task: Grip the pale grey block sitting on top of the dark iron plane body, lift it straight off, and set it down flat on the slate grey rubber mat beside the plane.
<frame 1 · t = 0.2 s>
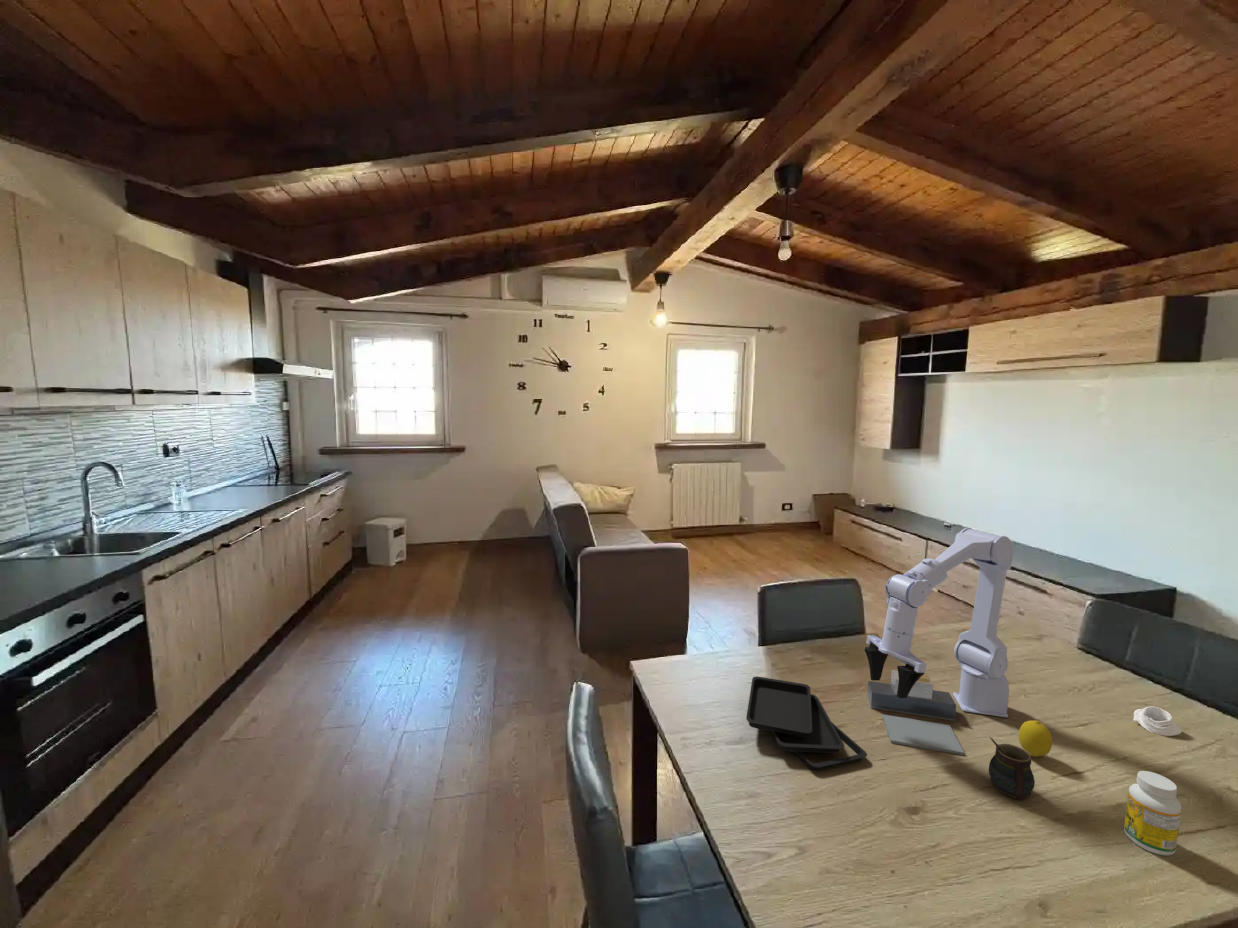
hand: (888, 688, 119), 10 cm above the table, fingers open, 7 cm apart
pale grey block: (910, 692, 129), point 4 cm above the table, touching plane body
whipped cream: (1156, 729, 123), on the table
mat: (920, 734, 119), on the table
mate gourd: (1008, 791, 103), on the table
plane body: (909, 707, 130), on the table
stack of dark trays: (790, 732, 121), on the table
lemon: (1033, 756, 112), on the table
supplement bottle: (1148, 842, 91), on the table
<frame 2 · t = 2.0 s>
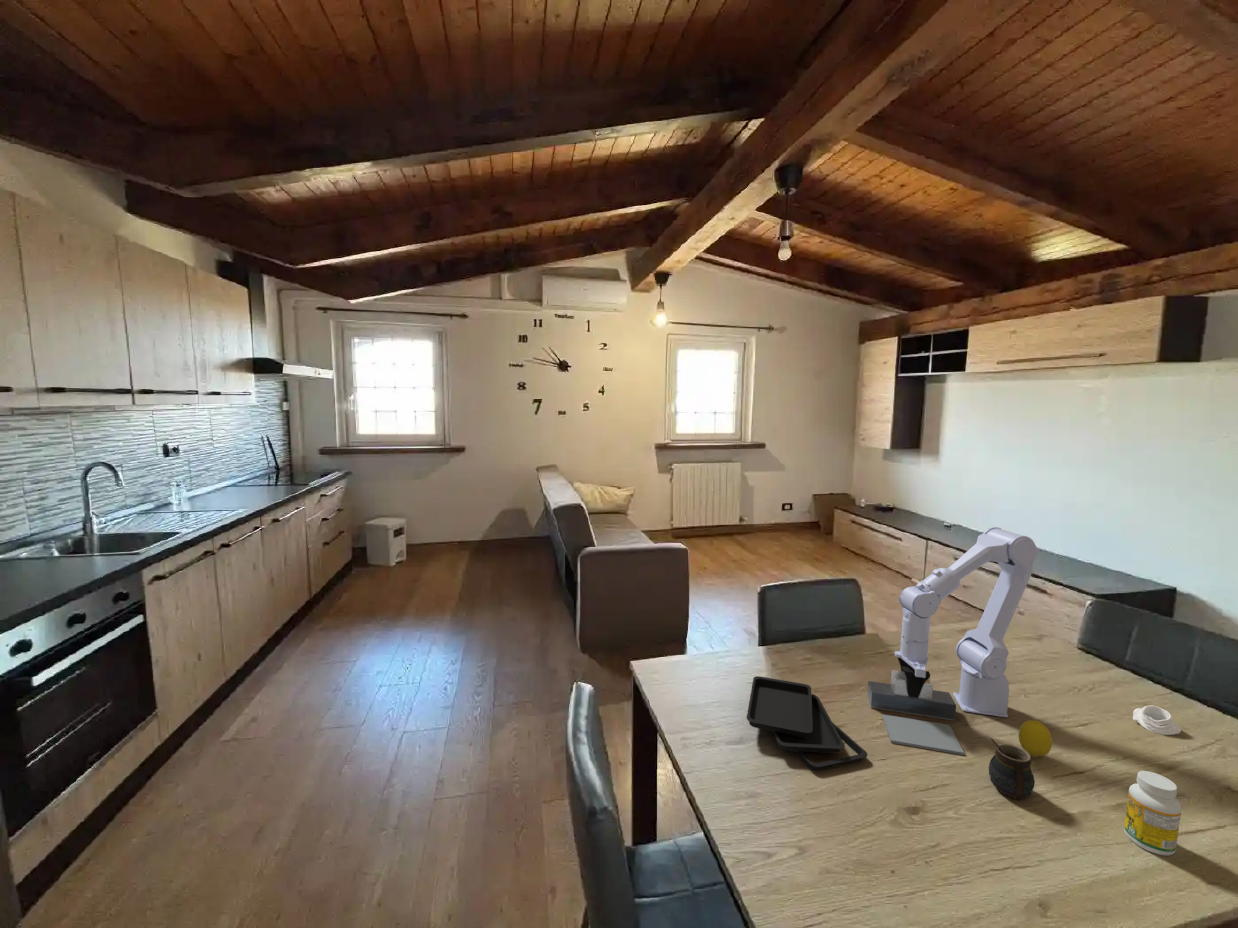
hand: (910, 690, 129), 4 cm above the table, fingers closed on pale grey block, 5 cm apart
pale grey block: (910, 692, 129), point 4 cm above the table, touching gripper, plane body
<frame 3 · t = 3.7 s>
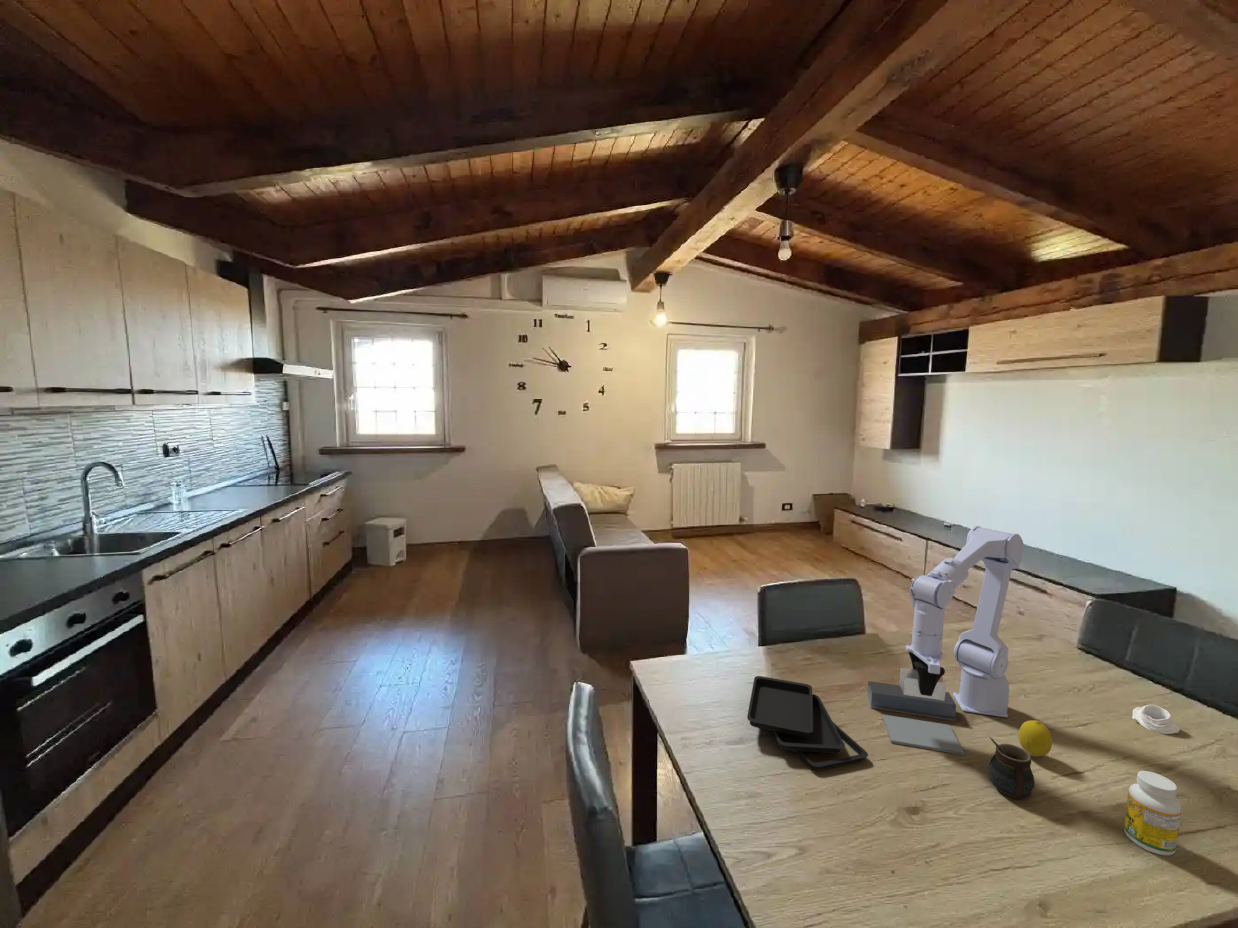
hand: (922, 688, 119), 10 cm above the table, fingers closed on pale grey block, 5 cm apart
pale grey block: (921, 692, 119), point 10 cm above the table, touching gripper
when the fingers open (2 cm above the table, at t = 5.8 s): pale grey block stays where it is, resting on mat.
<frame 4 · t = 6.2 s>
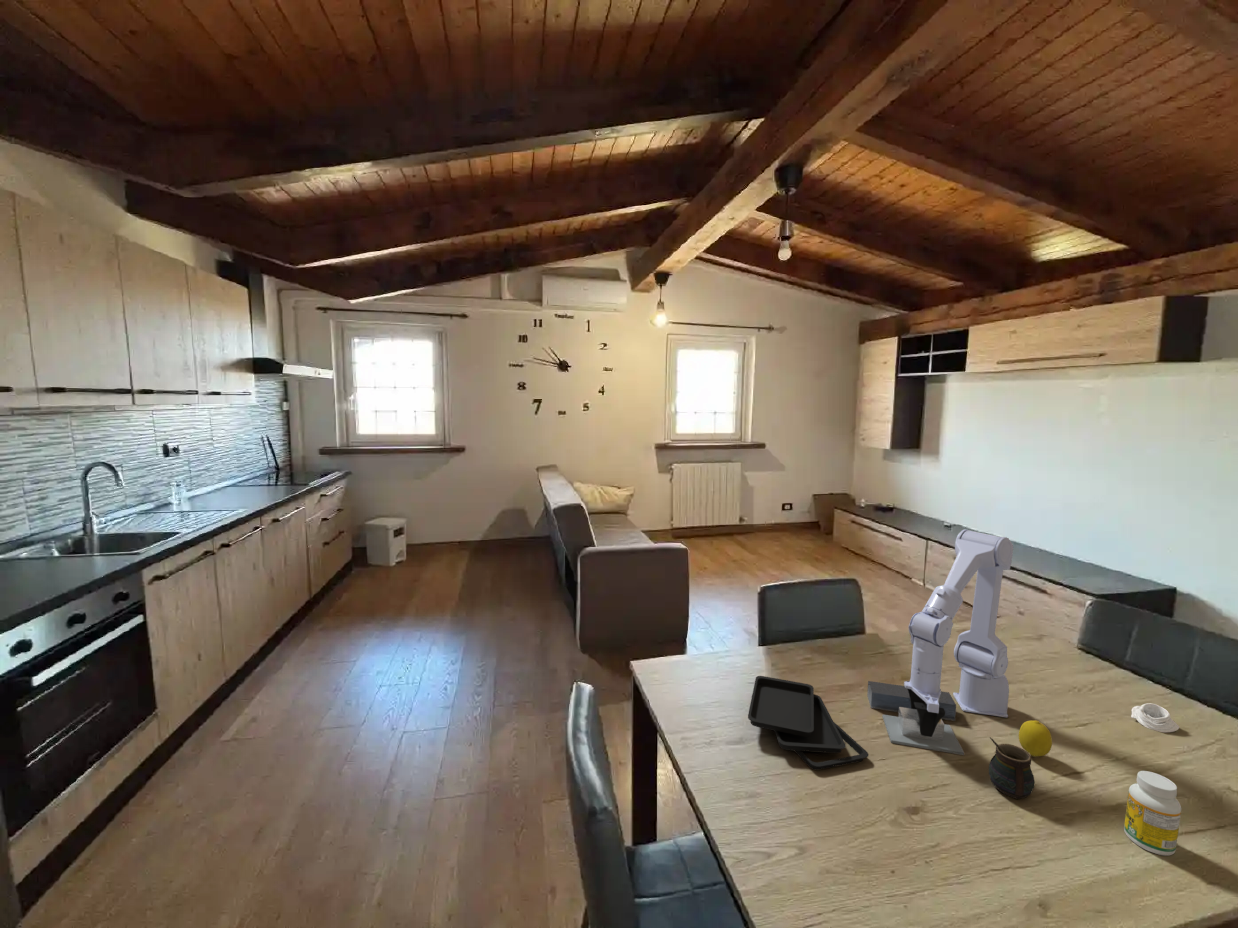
hand: (921, 724, 119), 2 cm above the table, fingers open, 7 cm apart
pale grey block: (919, 732, 119), point 1 cm above the table, touching mat
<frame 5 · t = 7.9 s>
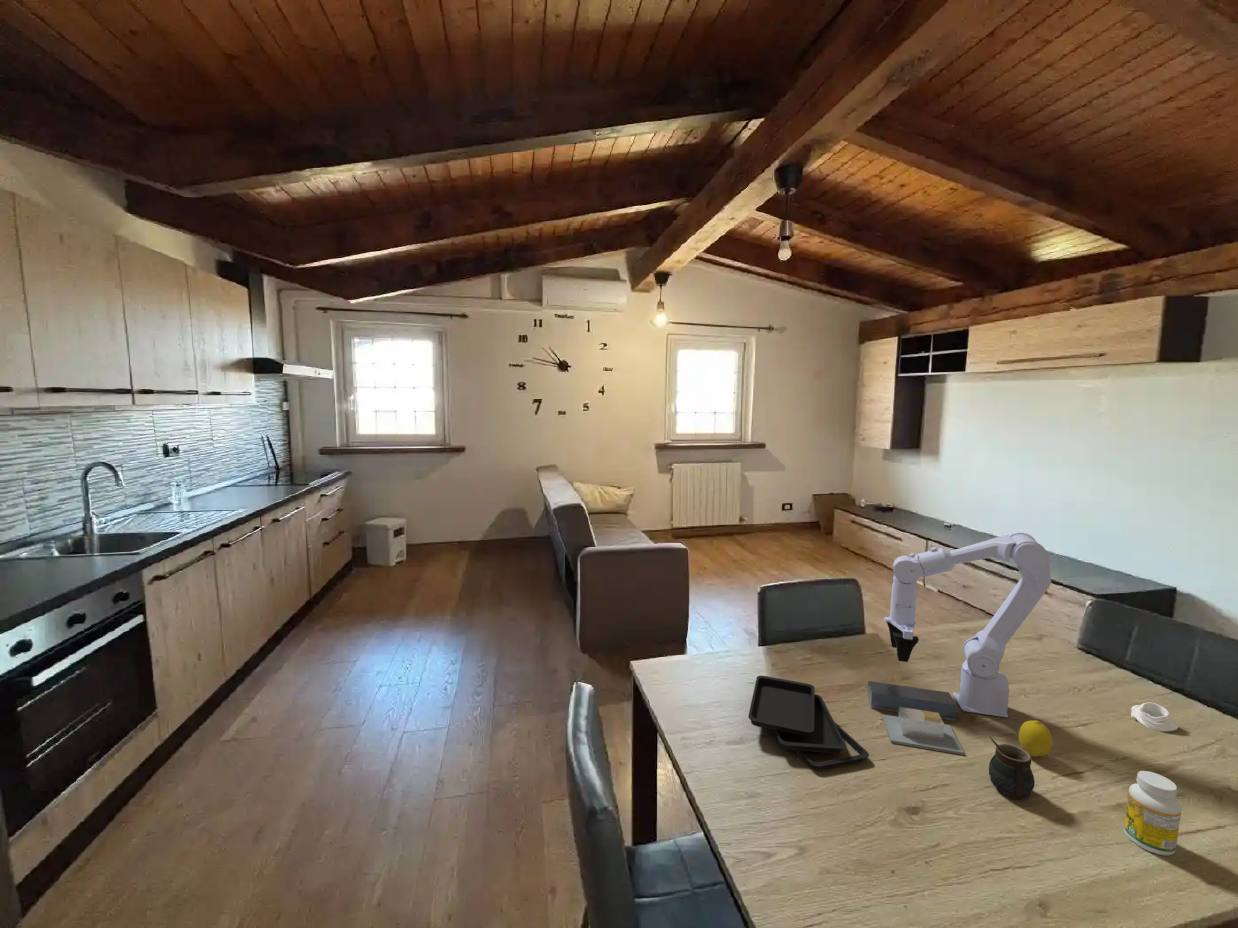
hand: (899, 653, 137), 9 cm above the table, fingers open, 7 cm apart
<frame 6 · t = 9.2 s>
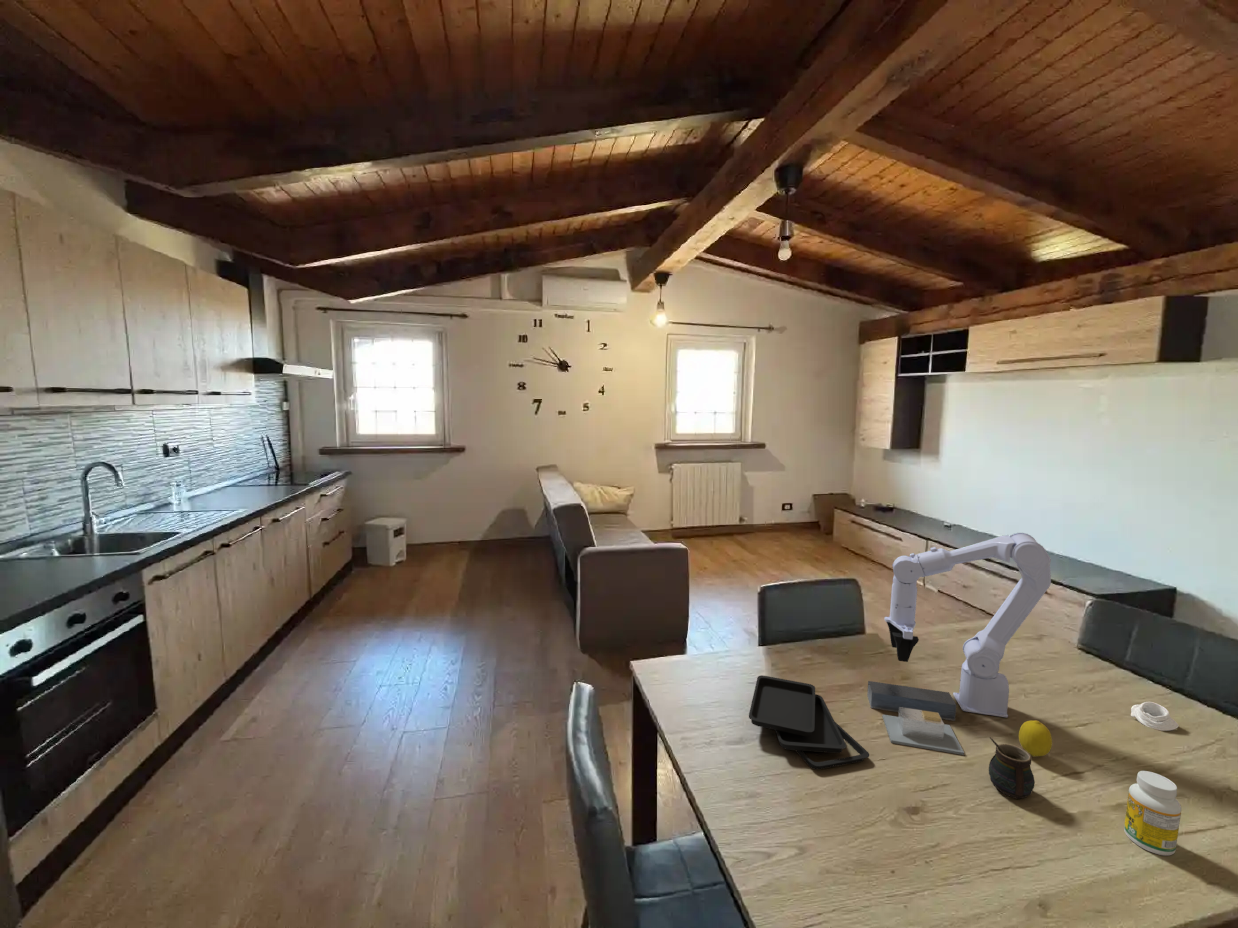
hand: (899, 653, 137), 9 cm above the table, fingers open, 7 cm apart
at the end: pale grey block inside the target area on the mat (0.3 cm from its centre), point 0.6 cm above the mat's base; pale grey block tilted 0°; the gripper is holding nothing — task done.
